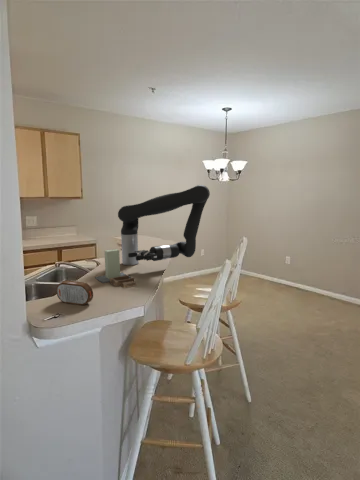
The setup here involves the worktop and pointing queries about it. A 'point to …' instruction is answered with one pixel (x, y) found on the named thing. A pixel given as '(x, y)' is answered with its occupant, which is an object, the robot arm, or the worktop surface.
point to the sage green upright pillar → (112, 263)
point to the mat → (104, 279)
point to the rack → (120, 280)
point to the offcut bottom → (127, 286)
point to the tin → (74, 292)
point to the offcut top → (128, 284)
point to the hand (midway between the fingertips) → (132, 256)
